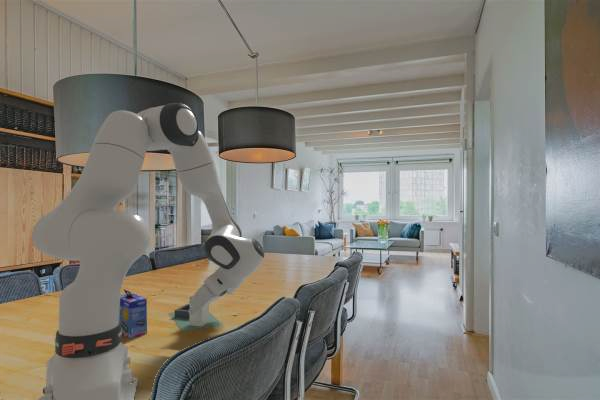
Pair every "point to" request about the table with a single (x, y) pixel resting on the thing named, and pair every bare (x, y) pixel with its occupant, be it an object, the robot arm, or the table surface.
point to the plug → (199, 316)
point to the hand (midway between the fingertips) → (197, 308)
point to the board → (183, 316)
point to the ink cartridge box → (133, 315)
